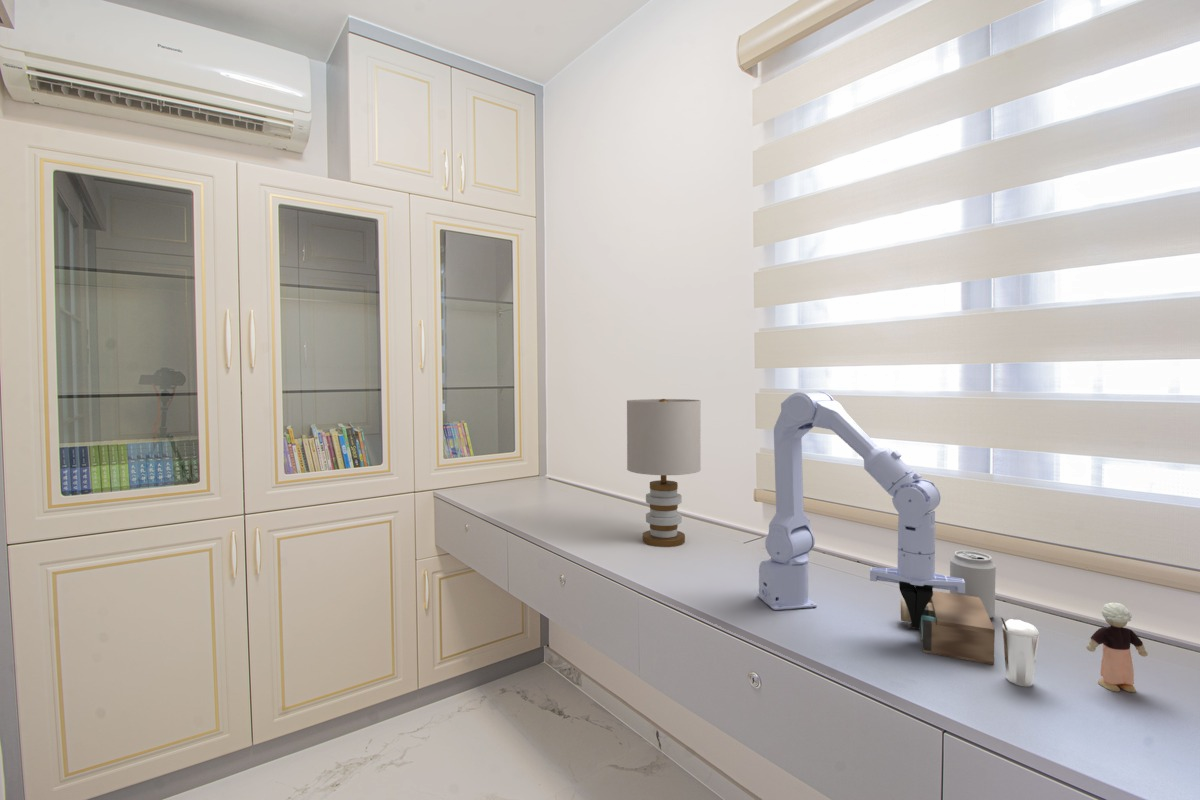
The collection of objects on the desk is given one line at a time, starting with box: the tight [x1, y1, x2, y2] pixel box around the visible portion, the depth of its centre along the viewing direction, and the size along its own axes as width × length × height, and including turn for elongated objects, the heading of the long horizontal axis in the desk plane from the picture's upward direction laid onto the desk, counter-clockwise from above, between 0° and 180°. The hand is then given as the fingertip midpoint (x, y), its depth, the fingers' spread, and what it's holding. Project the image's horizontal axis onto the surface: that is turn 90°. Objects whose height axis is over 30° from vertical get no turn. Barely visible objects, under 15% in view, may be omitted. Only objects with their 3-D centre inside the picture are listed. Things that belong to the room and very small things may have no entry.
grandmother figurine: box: [1086, 602, 1149, 693], centre depth 85 cm, size 8×4×13 cm, turn 92°
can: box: [949, 549, 997, 619], centre depth 111 cm, size 8×8×12 cm
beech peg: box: [900, 598, 933, 623], centre depth 105 cm, size 10×4×4 cm, turn 64°
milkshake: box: [1000, 616, 1040, 688], centre depth 87 cm, size 4×5×10 cm
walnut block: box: [918, 590, 996, 665], centre depth 101 cm, size 10×15×6 cm, turn 154°
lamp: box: [626, 398, 702, 548], centre depth 163 cm, size 21×21×41 cm
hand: (915, 625), depth 100 cm, fingers closed
